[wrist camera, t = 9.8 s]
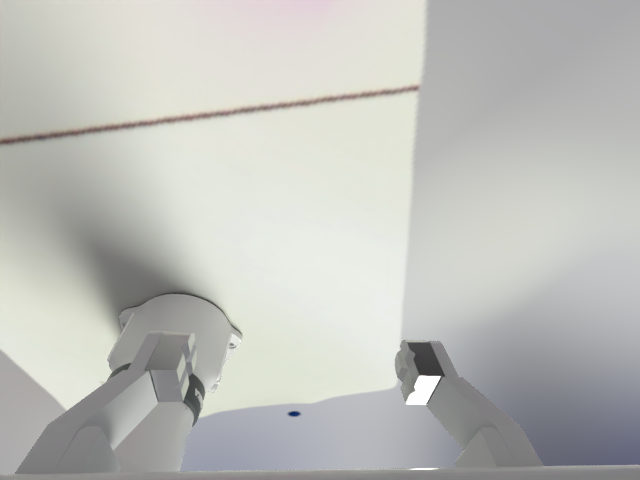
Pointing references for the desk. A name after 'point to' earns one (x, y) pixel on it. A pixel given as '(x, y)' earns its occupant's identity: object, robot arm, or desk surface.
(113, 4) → the desk surface
